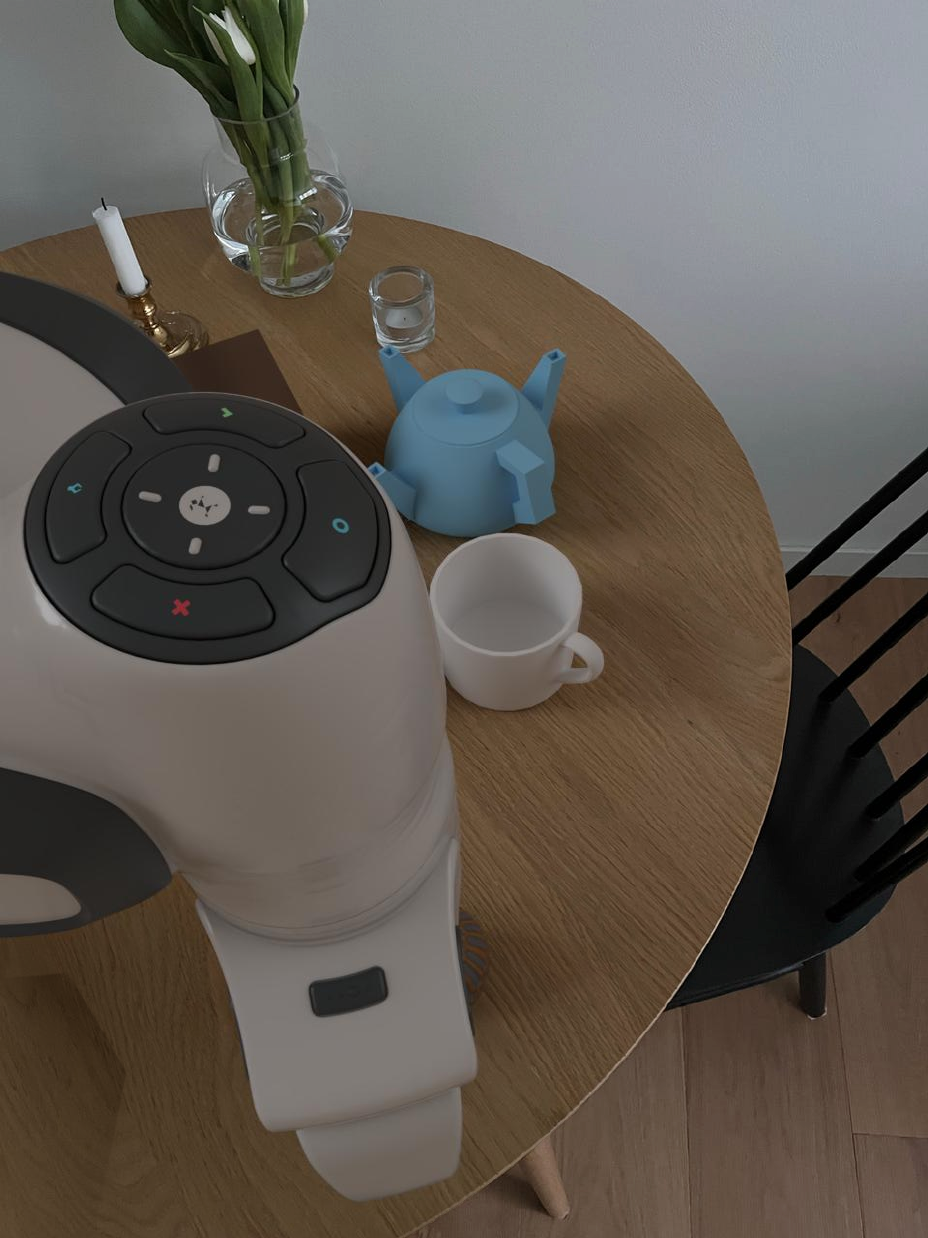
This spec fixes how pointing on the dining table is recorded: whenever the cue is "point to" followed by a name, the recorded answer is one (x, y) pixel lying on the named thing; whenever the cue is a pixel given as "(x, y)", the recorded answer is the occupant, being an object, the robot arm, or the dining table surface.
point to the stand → (238, 370)
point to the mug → (510, 621)
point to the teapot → (470, 447)
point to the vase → (473, 955)
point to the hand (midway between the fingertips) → (370, 949)
